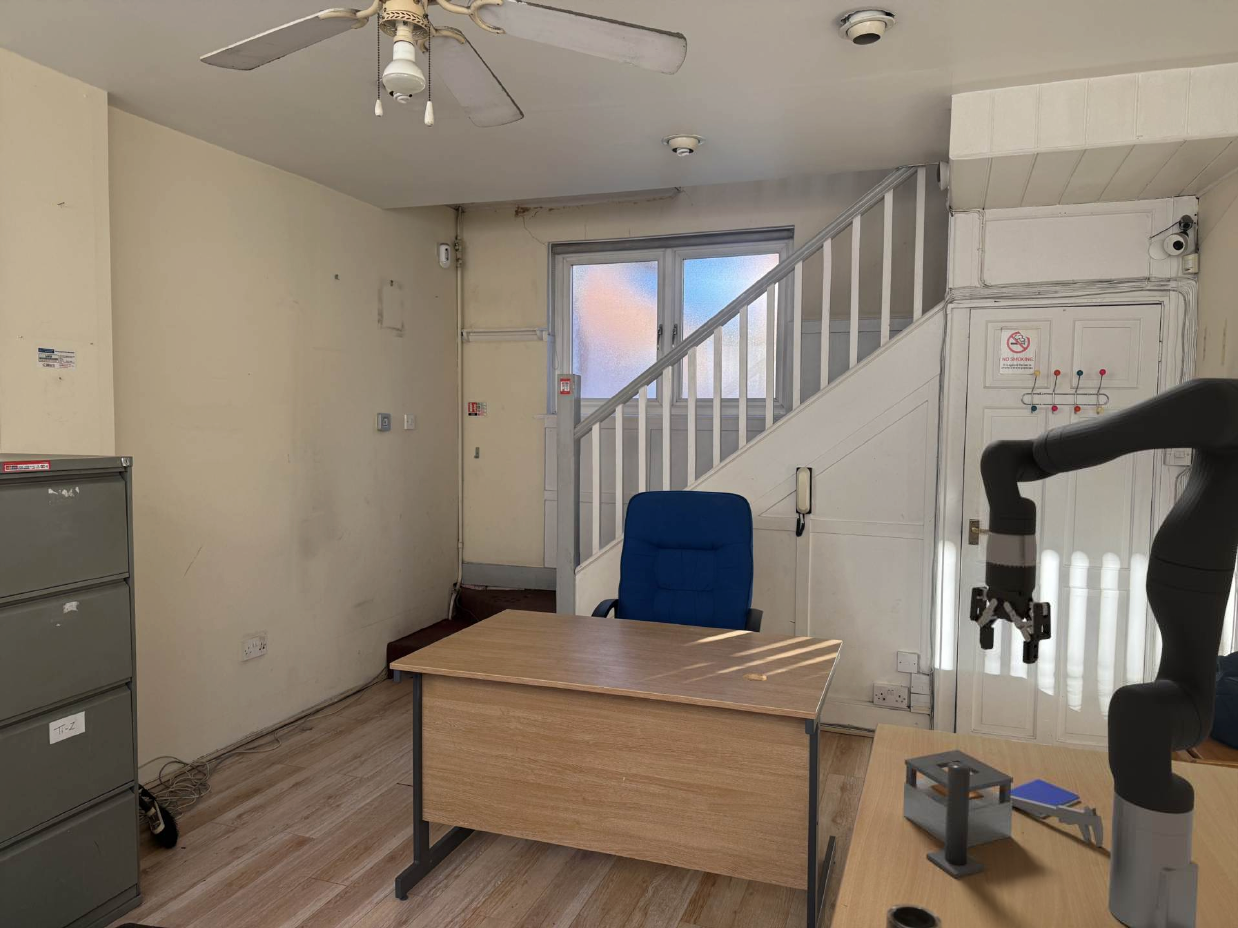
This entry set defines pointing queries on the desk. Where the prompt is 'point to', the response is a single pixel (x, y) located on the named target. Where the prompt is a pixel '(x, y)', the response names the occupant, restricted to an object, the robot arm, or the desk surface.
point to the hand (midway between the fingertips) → (1007, 655)
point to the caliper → (1067, 817)
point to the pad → (952, 869)
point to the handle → (957, 813)
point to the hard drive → (1044, 795)
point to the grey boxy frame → (985, 813)
